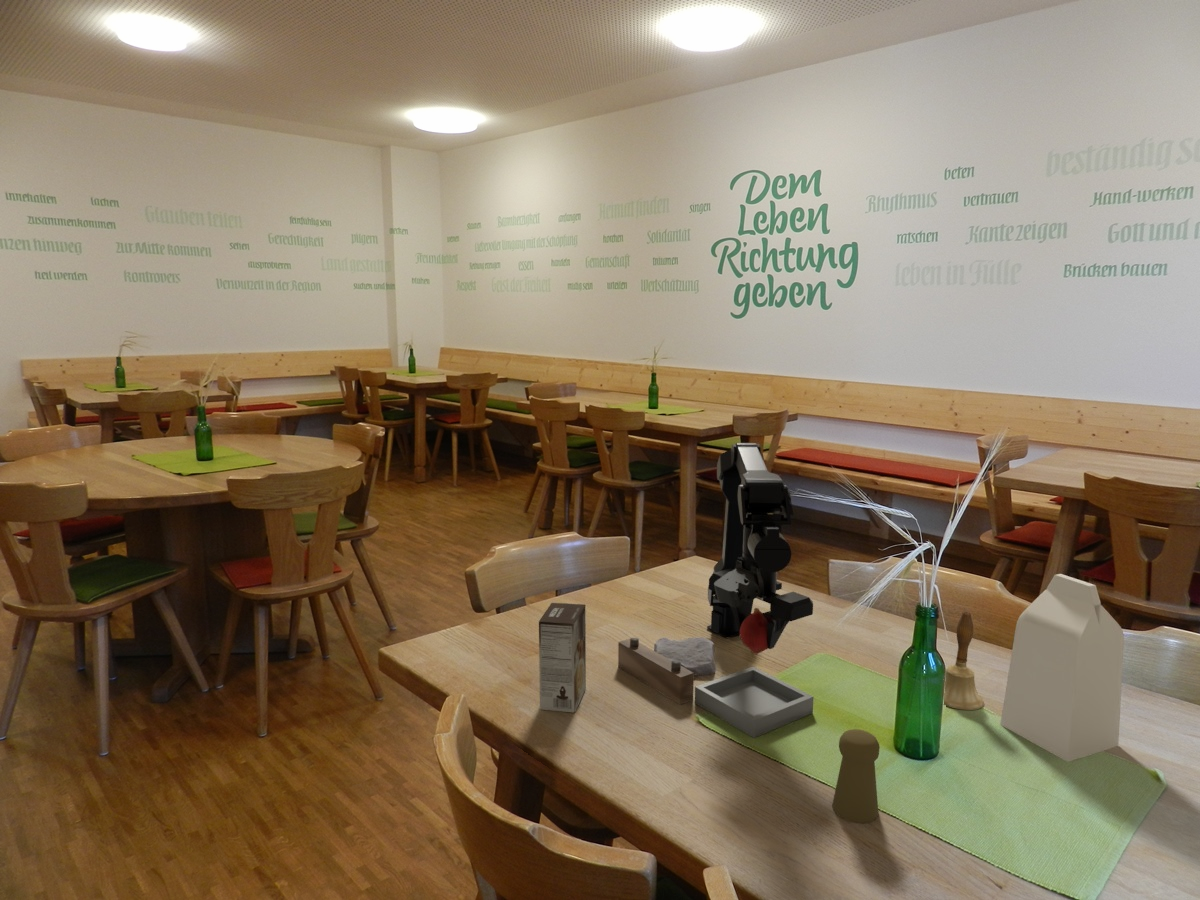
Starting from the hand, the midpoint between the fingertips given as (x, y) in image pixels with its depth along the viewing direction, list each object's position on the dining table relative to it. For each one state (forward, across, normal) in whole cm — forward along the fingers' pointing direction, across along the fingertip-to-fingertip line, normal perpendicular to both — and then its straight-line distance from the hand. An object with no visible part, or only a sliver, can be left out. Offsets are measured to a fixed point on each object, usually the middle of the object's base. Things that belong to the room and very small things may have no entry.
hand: (756, 642), depth 135 cm
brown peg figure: (+12, +28, -9) cm, 32 cm away
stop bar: (+12, -17, -8) cm, 22 cm away
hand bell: (+12, +18, +32) cm, 38 cm away
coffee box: (+12, -21, -25) cm, 35 cm away
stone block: (+12, -20, +2) cm, 23 cm away
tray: (+12, 0, 0) cm, 12 cm away
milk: (+12, +34, +34) cm, 49 cm away
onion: (+2, 0, 0) cm, 2 cm away
